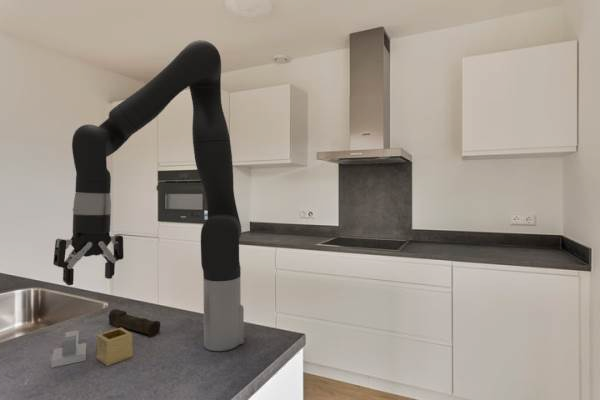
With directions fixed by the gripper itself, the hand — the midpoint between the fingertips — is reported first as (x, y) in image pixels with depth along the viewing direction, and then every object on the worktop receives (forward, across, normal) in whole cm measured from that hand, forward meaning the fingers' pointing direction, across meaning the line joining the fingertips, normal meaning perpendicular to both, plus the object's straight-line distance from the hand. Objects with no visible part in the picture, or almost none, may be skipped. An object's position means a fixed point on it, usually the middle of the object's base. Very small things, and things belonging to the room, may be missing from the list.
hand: (89, 281), depth 80 cm
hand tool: (+18, +14, +7) cm, 24 cm away
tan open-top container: (+18, +4, -6) cm, 19 cm away
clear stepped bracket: (+18, 0, +8) cm, 20 cm away
